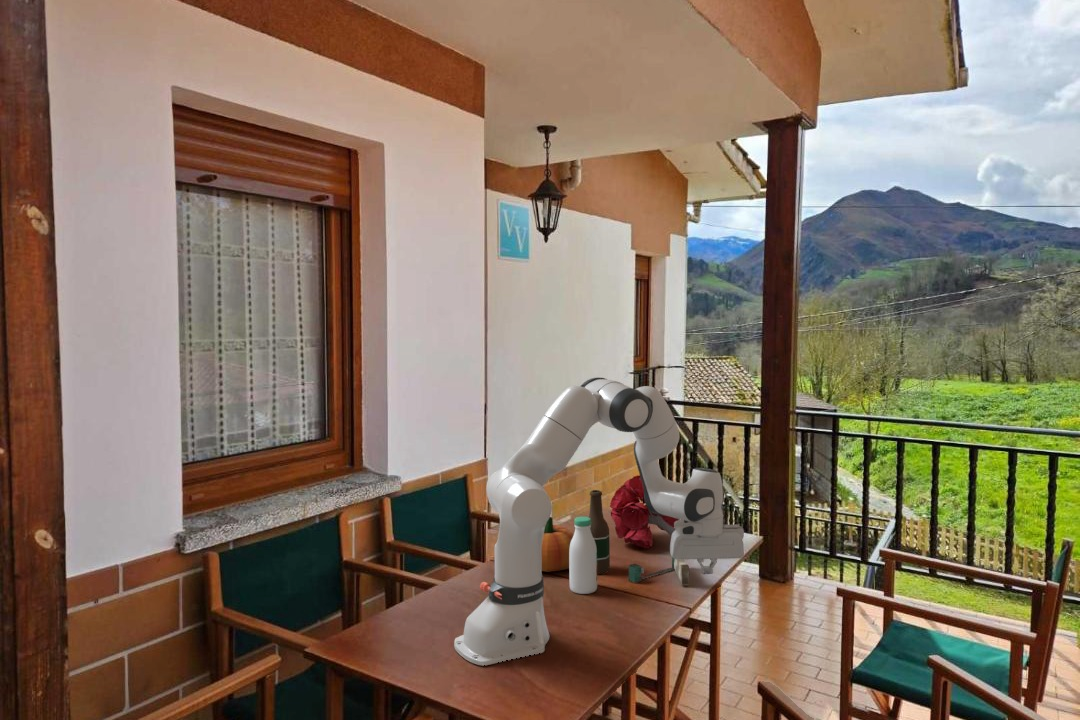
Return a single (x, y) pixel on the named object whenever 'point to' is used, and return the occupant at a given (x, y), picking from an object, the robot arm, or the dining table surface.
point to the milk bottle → (583, 558)
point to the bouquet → (636, 515)
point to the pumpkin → (555, 547)
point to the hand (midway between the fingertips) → (706, 573)
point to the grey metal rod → (657, 573)
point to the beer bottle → (599, 532)
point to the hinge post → (672, 562)
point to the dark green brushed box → (635, 572)
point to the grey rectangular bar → (682, 571)
